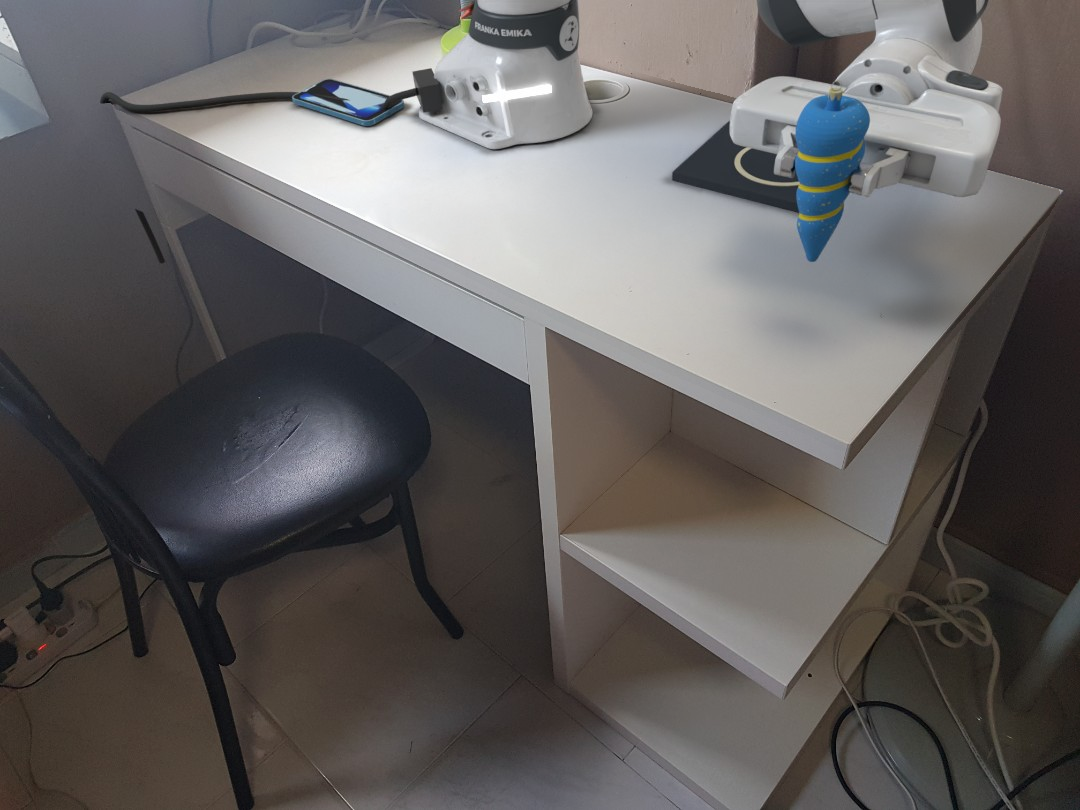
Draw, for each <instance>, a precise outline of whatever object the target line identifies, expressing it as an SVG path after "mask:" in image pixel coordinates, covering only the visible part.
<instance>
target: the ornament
mask: <svg viewBox="0 0 1080 810" xmlns="http://www.w3.org/2000/svg"><path fill="white" fill-rule="evenodd" d="M837 81H839V80H837ZM834 82H836V81H835V80H834V81H833V82H832V83H831V84H832V85H833V83H834ZM840 82H841V81H840ZM841 83H842V82H841ZM841 87H842V86H841ZM842 93H843V90H842V89H841V88H836V87H835V88H832V86H831V89H830V90H829V95H824V96H820V97H817V98H814V99H812V100H811V101H810V102H809V103H808V104H807V105H806V106H805V107H804V109H803V110H802V112H801V114H800V116H799V119H798V121H797V125H796V130H795V136H796V142H797V146H798V149H799V152H798V154H797V156H796V159H795V170H796V174H797V177H798V180H799V183H800V184H799V186H798V188H797V193H796V198H797V205H798V209H799V212H798V216H797V219H796V229H797V233H798V236H799V239H800V242H801V245H802V247H803V250H804V253H805V257H806V260H807V261H808V262H810V263H815V262H817V260H818V259H819V257H820V255H821V254H822V252H823V250H824V249H825V247H826V246H827V244H828V243H829V241H830V239H831V237H832V235H833V234H834V233H835V231H836V229H837V227H838V225H839V223H840V221H841V219H842V216H843V213H844V210H845V209H844V208H845V201H846V199H847V198H848V197H849V195H850V192H849V186H850V185H851V184H852V183H851V177H852V174H853V172H854V170H855V169H857V167H858V166H859V164H860V163H861V161H862V159H863V156H864V153H865V140H864V136H865V135H866V133H867V130H868V128H869V124H870V115H869V113H868V110H867V109H866V107H865V106H864V105H863V104H862V102H860V101H859V100H857V99H855V98H851V97H847V96H842Z"/></svg>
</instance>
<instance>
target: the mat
mask: <svg viewBox="0 0 1080 810" xmlns="http://www.w3.org/2000/svg"><path fill="white" fill-rule="evenodd" d="M776 156H777V154H774V153H770V152H766V151H761V150H757V149H753V148H749V147H744V146H740V145H737V144H735V143H734V142H733V141H732V139H731V136H730V120H728V121H727V122H726V123H725V124H724V125H723V126H722V127H720V128H719V130H717V131H716V132H715V133H714V134H712V136H710V137H709V138H708V139H707V140H706V141H705V142H704V143H703V144H701V145H700V146H699V148H697V149H696V150H695V151H694V152H693V153H692V154H691V155H689V156H688V157H687V158H686V159H685V160H684V161H683V162H682V163H681V164H679V165H678V166H677V167H676V168H675V169H674V170H673V171H672V175H671V180H672V181H674V182H678V183H681V184H687V185H690V186H694V187H696V188H701V189H706V190H709V191H713V192H718V193H721V194H724V195H729V196H732V197H737V198H741V199H745V200H749V201H753V202H757V203H761V204H765V205H769V206H772V207H777V208H780V209H784V210H788V211H792V212H796V213H799V209H798V205H797V198H796V193H797V188H798V186H799V184H800V183H799V180H798V177H797V174H795V175H794V177H793V178H789V177H784V176H780V175H776V174H774V166H775V159H776Z"/></svg>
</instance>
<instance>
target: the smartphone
mask: <svg viewBox="0 0 1080 810" xmlns="http://www.w3.org/2000/svg"><path fill="white" fill-rule="evenodd" d="M298 92H299V93H297V94H295V95H293V96H292V99H291V100H292V103H293V104H295V105H297V106H301V107H304V108H307V109H310V110H313V111H316V112H320V113H321V114H322V113H323V114H325V115H329V116H332V117H336V118H339V119H342V120H345V121H348V122H351V123H354V124H358V125H361V126H365V127H371V126H373V125H375V124H377V123H379V122H381V121H382V120H384V119H386V118H388V117H389V116H391V115H393V114H395V113H397V112H398V111H400V110H402V109H403V108H404V107H405V101H404V99H402V100H399V101H397V102H395V103H393V104H392V105H391V107H390V108H389V109H384V108H381V107H379V106H378V105H382V104H384V102H385V100H386V99H387V98H388V97H389V96H391V95H389V94H386V93H384V92H383V93H382V92H379V91H377V90H373V89H368V88H366V87H362V86H359V85H356V84H351V83H348V82H345V81H341V80H337V79H334V78H325V79H322V80H320V81H319V82H316V83H314V84H313V85H310V86H308V87H306V88H304V89H303V90H301V91H298ZM314 94H317V95H314ZM319 95H325V96H332V97H339V98H345V99H348V100H338V99H333V98H328V97H323V96H319ZM349 100H350V101H349Z"/></svg>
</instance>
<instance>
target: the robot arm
mask: <svg viewBox="0 0 1080 810" xmlns="http://www.w3.org/2000/svg"><path fill="white" fill-rule="evenodd" d="M988 3H989V0H756V6H757V10H758V15H759V17H760V19H761V21H762V22H763V23H764V24H765V25H766V27H767V28H768V29H769V30H770V31H771V32H772V33H773V34H774V35H775V36H777V37H778V38H779V39H781V40H782V41H784V42H785V43H787V44H789V45H790V46H792V47H795V48H800V47H804V46H808V45H812V44H817V43H821V42H824V41H829V40H833V39H836V38H837V37H842V36H850V35H856V34H862V33H863V34H864V33H870V32H875V38H874V40H873V42H872V43H871V44H870V45H869V46H868V47H866V48H865V49H864V50H863V51H862V52H860V54H859V55H858V56H857V57H856V58H855V59H854V60H853V61H852V62H851V63H850V64H849V65H848V66H847V67H846V68H845V69H844V70H843V71H842V72H841V73H839V75H838V76H837V78H836V79H835V80H834V81H833V82H834V83H833V82H832V83H833V85H832V83H826V82H821V81H816V80H812V79H811V80H810V79H805V78H800V77H795V76H785V75H781V76H774V77H769V78H768V79H765V80H763V81H761V82H759V83H757V84H756V85H754V86H752V87H751V88H748V89H747V90H745V92H743V93H742V94H740V95H739V96H738V97H737V98H736V99H734V101H733V103H732V106H731V112H730V118H729V121H730V136H731V139H732V141H733V142H734V143H735V144H737V145H740V146H744V147H749V148H753V149H757V150H761V151H766V152H770V153H774V154H777V156H776V159H775V166H774V174H776V175H780V176H784V177H789V178H793V177H794V175H795V174H796V170H795V159H796V156H797V154H798V152H799V149H798V146H797V142H796V136H795V130H796V125H797V121H798V119H799V116H800V114H801V112H802V110H803V109H804V107H805V106H806V105H807V104H808V103H809V102H810V101H811V100H812V99H814V98H817V97H820V96H824V95H829V90H830V89H831V86H832V88H835V87H836V88H841V89H842V90H843V93H842V96H847V97H851V98H855V99H857V100H859V101H860V102H862V104H863V105H864V106H865V107H866V109H867V110H868V113H869V115H870V124H869V128H868V130H867V133H866V135H865V136H864V140H865V153H864V156H863V159H862V161H861V163H860V164H859V166H858V167H857V169H855V170H854V172H853V174H852V177H851V183H852V184H851V185H850V186H849V192H850V193H851V194H855V195H858V196H861V197H865V198H869V197H870V196H871V195H872V193H873V192H874V191H875V190H879V189H882V188H886V187H890V186H894V185H898V184H903V185H907V186H910V187H915V188H918V189H919V188H920V189H923V190H928V191H932V192H936V193H940V194H944V195H948V196H953V197H957V198H966V197H971V196H975V195H977V194H978V193H979V192H980V191H981V189H982V186H983V184H984V181H985V178H986V176H987V172H988V169H989V167H990V164H991V161H992V157H993V154H994V151H995V148H996V145H997V141H998V138H999V134H1000V130H1001V125H1002V120H1001V115H1000V113H999V112H1000V108H1001V103H1002V97H1003V91H1004V89H1003V87H1002V86H1001V85H1000V84H998V83H995V82H993V81H990V80H986V79H983V78H982V77H979V76H976V75H973V71H974V69H975V67H976V64H977V62H978V59H979V56H980V53H981V48H982V43H983V23H982V19H981V17H982V16H983V14H984V13H985V11H986V9H987V7H988ZM579 11H580V10H579V1H578V0H472V1H471V2H470V4H468V5H466V6H464V7H462V8H461V9H459V13H463V12H464V13H463V14H462V15H461V16H460V17H459V18H460V20H462V21H463V20H465V19H467V18H469V17H470V16H471V17H470V22H469V26H468V33H466V34H465V35H464V36H463V37H462V38H461V39H459V41H458V42H457V43H456V44H455V45H454V46H453V47H452V48H451V49H449V51H447V52H446V54H444V55H443V56H442V58H440V60H439V61H438V62H437V64H436V66H435V68H434V71H433V68H431V67H430V68H424V69H419V70H413V71H411V72H412V77H413V83H414V88H410V89H406V90H403V91H399V92H396V93H393V94H391V95H390V96H389V97H388V98H387V99H386V100H385V102H384V104H382V105H378V106H379V107H381V108H384V109H389V108H390V107H391V105H392V104H393V103H395V102H397V101H399V100H402V99H403V100H405V99H410V98H414V97H416V98H417V100H418V102H419V109H418V118H419V119H421V120H422V121H425V122H427V123H428V124H431V125H434V126H436V127H438V128H440V129H443V130H445V131H447V132H450V133H452V134H455V136H459V137H461V138H463V139H466V140H468V141H470V142H473V143H475V144H477V145H480V146H482V147H484V148H486V149H490V150H499V149H500V150H501V149H504V148H508V147H512V146H516V145H522V144H536V143H543V142H550V141H555V140H558V139H561V138H564V137H567V136H570V135H572V134H574V133H576V132H579V131H580V130H582V129H584V128H585V126H587V125H588V124H589V123H590V121H591V120H592V118H593V114H594V113H593V109H592V105H591V102H590V100H589V97H588V93H587V90H586V86H585V85H586V84H585V81H584V77H583V71H582V66H581V58H580V52H579V44H580V43H579V42H580V12H579ZM837 80H839V81H837ZM835 81H836V82H835ZM840 81H841V82H842V83H841V82H840ZM841 86H842V87H841ZM299 92H300V91H271V92H270V91H269V92H256V93H255V92H254V93H244V94H234V95H225V96H216V97H210V98H202V99H194V100H193V99H192V100H185V101H173V102H166V103H165V102H164V103H155V104H137V103H136V104H135V103H131V102H127V101H126V100H124V99H122V98H121V97H120V96H119V95H117V94H115V93H114V92H112V91H106V92H104V93H103V94H102V95H101V96H100V99H99V103H100V104H102V105H103V104H104V105H105V104H107V103H108V102H109V100H111V101H113V102H114V103H115V104H117V105H118V106H119V107H122V108H123V109H125V110H127V111H130V112H136V113H157V112H167V111H175V110H177V111H178V110H186V109H194V108H195V109H196V108H204V107H211V106H218V105H226V104H233V103H235V104H236V103H244V102H255V101H270V100H292V96H293V95H295V94H297V93H299ZM314 95H317V94H314ZM319 96H323V97H328V98H333V99H338V100H348V99H345V98H339V97H332V96H325V95H319ZM349 101H350V100H349ZM850 193H849V194H850ZM134 210H135V212H136V215H137V216H138V219H139V221H140V223H141V225H142V228H143V229H144V231H145V234H146V235H147V238H148V240H149V242H150V245H151V246H152V249H153V251H154V254H155V256H156V258H157V260H158V263H159V264H165V262H166V259H165V258H164V256H163V253H162V250H161V248H160V246H159V244H158V241H157V239H156V237H155V234H154V233H153V230H152V228H151V226H150V224H149V222H148V219H147V218H146V214H145V213H144V212H143V211H142V210H139V209H137V208H134Z"/></svg>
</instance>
